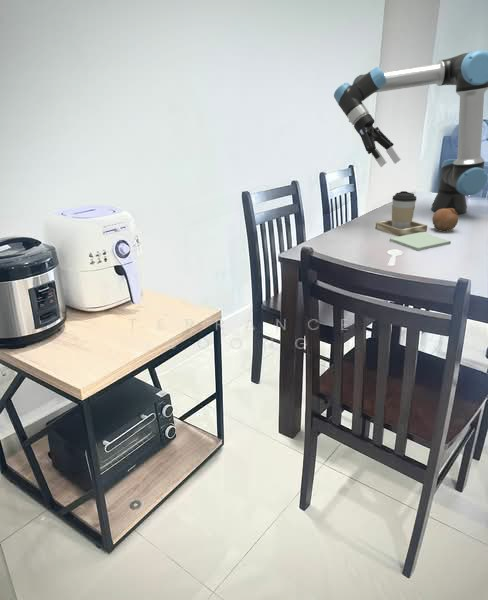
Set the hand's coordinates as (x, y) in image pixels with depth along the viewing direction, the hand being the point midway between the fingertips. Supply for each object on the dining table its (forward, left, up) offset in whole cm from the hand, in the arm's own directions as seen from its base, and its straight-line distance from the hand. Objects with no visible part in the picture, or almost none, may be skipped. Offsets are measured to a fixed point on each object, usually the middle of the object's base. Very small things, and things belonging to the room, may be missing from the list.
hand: (391, 163), depth 172 cm
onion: (-17, +15, -26) cm, 35 cm away
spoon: (+23, +30, -26) cm, 46 cm away
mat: (+3, +22, -26) cm, 34 cm away
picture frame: (-3, +6, -26) cm, 27 cm away
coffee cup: (-3, +6, -26) cm, 27 cm away
